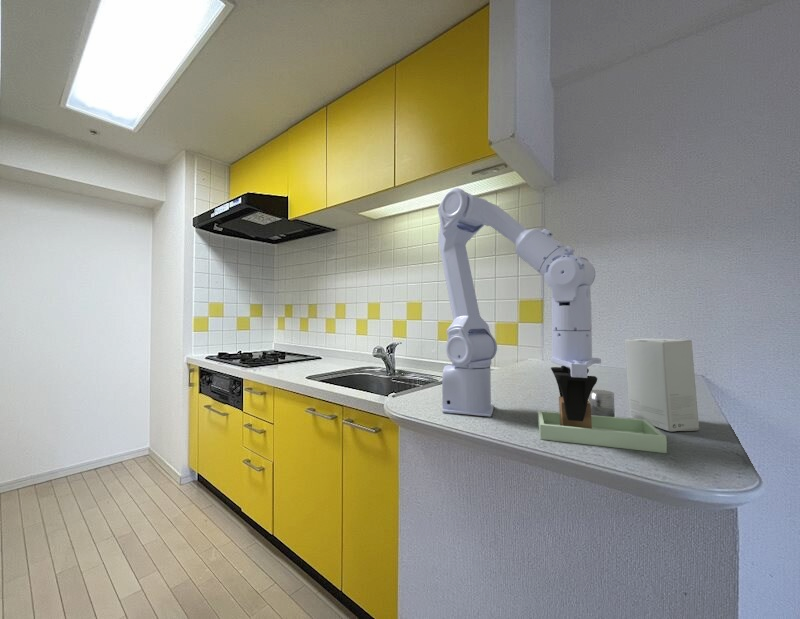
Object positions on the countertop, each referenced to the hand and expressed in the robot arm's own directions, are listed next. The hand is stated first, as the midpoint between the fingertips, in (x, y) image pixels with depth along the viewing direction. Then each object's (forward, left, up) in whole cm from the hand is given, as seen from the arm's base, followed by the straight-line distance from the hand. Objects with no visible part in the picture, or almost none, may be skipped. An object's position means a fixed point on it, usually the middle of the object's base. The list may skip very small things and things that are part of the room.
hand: (572, 415), depth 53 cm
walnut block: (0, 0, -2) cm, 3 cm away
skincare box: (+15, +10, -3) cm, 19 cm away
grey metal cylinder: (+6, +10, -3) cm, 12 cm away
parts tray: (+3, 0, -3) cm, 4 cm away
